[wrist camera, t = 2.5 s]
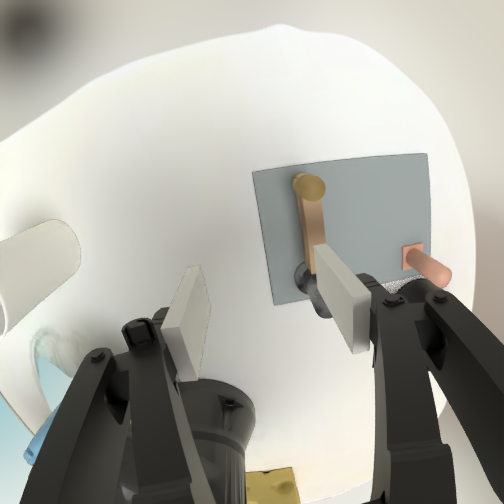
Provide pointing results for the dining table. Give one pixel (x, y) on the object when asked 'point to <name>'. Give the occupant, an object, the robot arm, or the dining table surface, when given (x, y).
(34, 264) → the cup
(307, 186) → the gate
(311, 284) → the pivot post
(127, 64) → the dining table surface
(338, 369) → the dining table surface
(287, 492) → the cheese
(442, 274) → the post
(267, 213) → the mat
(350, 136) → the dining table surface
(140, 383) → the robot arm
